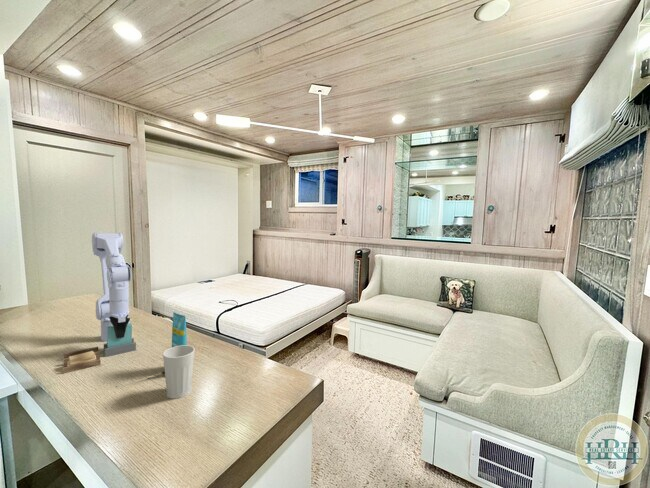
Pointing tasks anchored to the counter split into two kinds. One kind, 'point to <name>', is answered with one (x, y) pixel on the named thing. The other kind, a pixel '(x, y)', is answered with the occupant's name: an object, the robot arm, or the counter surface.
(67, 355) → the rack
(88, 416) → the counter surface
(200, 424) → the counter surface
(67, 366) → the offcut low
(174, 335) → the tube
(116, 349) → the holder
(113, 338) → the teal block
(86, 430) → the counter surface
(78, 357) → the offcut top
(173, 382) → the cup
